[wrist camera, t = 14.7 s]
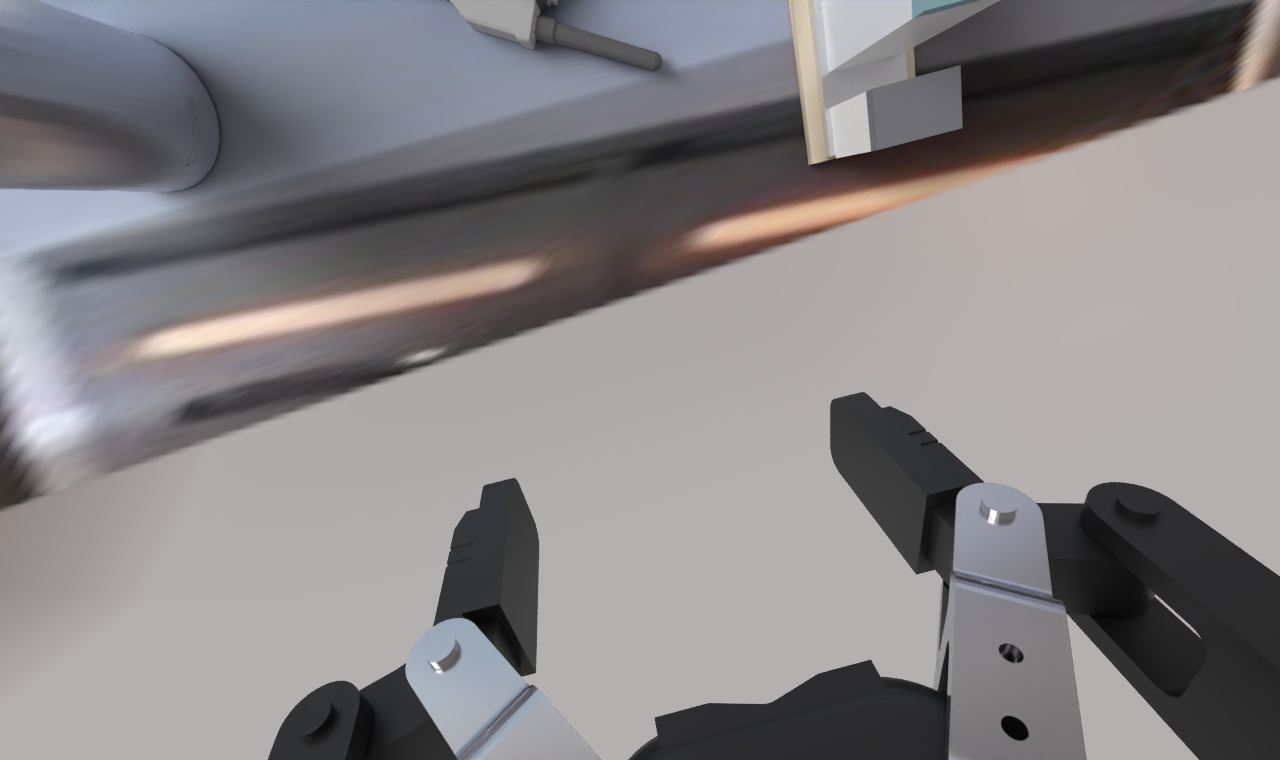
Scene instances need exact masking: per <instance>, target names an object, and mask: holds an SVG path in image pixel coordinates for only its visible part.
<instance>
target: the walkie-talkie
mask: <svg viewBox="0 0 1280 760" xmlns="http://www.w3.org/2000/svg"><path fill="white" fill-rule="evenodd" d="M450 1H451V2H452V3H453V5H454V6H455V7H456V9H457V10H458V11H459V12H460V14H461V15H462V16H463V18H464V19H465V20H466V21H467V22H468V23H469V24H470V26H471V27H472V28H473V29H474V30H478V31H481V32H484V33H488V34H491V35H494V36H498V37H501V38H504V39H508V40H511V41H515V42H518V43H521V45H522V46H523V47H526V48H529V49H533V50H534V49H535V44H536V39H537V40H540V41H543V42H546V43H549V44H555V43H558V44H562V45H565V46H569V47H572V48H576V49H579V50H582V51H586V52H589V53H593V54H596V55H599V56H603V57H606V58H610V59H613V60H616V61H620V62H623V63H627V64H630V65H634V66H637V67H640V68H644V69H647V70H651V71H656V70H658V69H659V68H660V67H661V64H662V59H661V56H660V55H659V54H658V53H657V52H653V51H650V50H647V49H643V48H640V47H637V46H633V45H630V44H627V43H623V42H620V41H616V40H613V39H610V38H606V37H603V36H600V35H596V34H593V33H589V32H586V31H583V30H579V29H576V28H573V27H569V26H566V25H563V24H559V23H558V22H557V20H556V19H553V18H550V17H546V16H543V15H541V11H542V10H544V9H546V8H548V6H550V5H551V4H553V5H556V6H557V4H558V0H450Z"/></svg>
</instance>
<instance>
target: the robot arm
mask: <svg viewBox="0 0 1280 760" xmlns="http://www.w3.org/2000/svg"><path fill="white" fill-rule="evenodd" d="M219 140H220V135H219V123H218V119H217V115H216V111H215V108H214V105H213V102H212V100H211V98H210V96H209V94H208V92H207V90H206V88H205V86H204V85H203V84H202V82H201V81H200V79H199V78H198V76H197V75H196V73H195V72H194V71H193V70H192V69H191V68H190V67H189V66H188V65H187V64H186V63H185V62H184V61H183V60H182V59H181V58H180V57H179V56H177V55H176V54H175V53H173V52H172V51H171V50H170V49H168V48H167V47H165V46H163V45H161V44H159V43H157V42H155V41H153V40H152V39H149V38H146V37H143V36H140V35H137V34H134V33H131V32H128V31H125V30H122V29H119V28H116V27H113V26H110V25H107V24H104V23H101V22H98V21H95V20H92V19H89V18H87V17H84V16H81V15H78V14H75V13H72V12H69V11H66V10H63V9H60V8H57V7H54V6H51V5H48V4H45V3H42V2H39V1H36V0H0V189H29V190H91V191H137V192H172V191H179V190H184V189H186V188H189V187H191V186H193V185H195V184H197V183H198V182H199V181H200V180H202V179H203V178H204V177H205V176H206V175H207V173H208V172H209V171H210V169H211V168H212V167H213V164H214V162H215V159H216V157H217V154H218V148H219ZM830 407H831V408H830V416H831V417H830V447H831V448H830V449H831V454H832V458H833V461H834V464H835V466H836V468H837V470H838V471H839V473H840V474H841V475H842V476H843V478H844V479H845V481H846V482H847V483H848V485H849V486H850V487H851V488H852V490H853V491H854V492H855V494H856V495H857V496H858V498H859V499H860V500H861V502H862V503H863V504H864V506H865V507H866V508H867V510H868V511H869V512H870V514H871V515H872V516H873V518H874V519H875V520H876V521H877V523H878V524H879V525H880V527H881V528H882V530H883V531H884V532H885V534H886V535H887V536H888V537H889V539H890V540H891V541H892V543H893V544H894V545H895V547H896V548H897V549H898V551H899V552H900V553H901V555H902V556H903V557H904V559H905V560H906V561H907V563H908V564H909V565H910V567H911V568H912V569H913V570H914V572H915V573H916V574H920V573H924V572H928V571H932V570H936V571H937V572H938V574H939V575H940V576H941V577H942V579H943V580H942V585H941V597H940V612H939V627H938V642H937V658H936V669H935V677H934V685H933V689H932V688H929V687H926V686H924V685H921V684H918V683H914V682H911V681H907V680H903V679H897V678H889V677H880V675H879V673H878V672H877V670H876V668H875V666H874V665H873V663H872V661H871V660H868V661H864V662H860V663H857V664H853V665H849V666H846V667H842V668H838V669H834V670H830V671H827V672H823V673H820V674H817V675H815V676H814V677H812V678H811V679H809V680H808V681H806V682H804V683H803V684H801V685H799V686H798V687H796V688H794V689H793V690H791V691H790V692H788V693H786V694H785V695H783V696H782V697H780V698H778V699H777V700H775V701H773V702H771V703H768V704H723V703H708V704H704V705H700V706H696V707H693V708H689V709H685V710H681V711H678V712H674V713H670V714H667V715H663V716H659V717H655V722H656V728H657V734H658V736H656V737H655V738H653V739H652V740H650V741H648V742H647V743H646V744H645V745H643V746H642V747H641V748H640V749H638V750H637V751H636V752H635V753H634V754H633V755H632V757H630V758H629V759H628V760H1087V759H1086V752H1085V745H1084V738H1083V730H1082V724H1081V716H1080V709H1079V702H1078V695H1077V687H1076V680H1075V674H1074V666H1073V659H1072V651H1071V645H1070V637H1069V630H1068V623H1067V616H1066V614H1068V615H1069V616H1070V617H1071V619H1072V620H1073V621H1074V622H1075V623H1076V624H1077V625H1078V626H1079V627H1080V629H1081V630H1082V631H1083V632H1084V633H1085V634H1086V635H1087V636H1088V637H1089V638H1090V640H1091V641H1092V642H1093V643H1094V644H1095V645H1096V646H1097V647H1098V648H1099V650H1101V652H1102V653H1103V654H1104V655H1105V656H1106V657H1107V658H1108V659H1109V661H1110V662H1111V663H1112V664H1113V665H1114V666H1115V667H1116V668H1117V669H1118V671H1119V672H1120V673H1121V674H1122V675H1123V676H1124V677H1125V678H1126V679H1127V680H1128V681H1129V683H1130V684H1131V685H1132V686H1133V687H1134V688H1135V689H1136V690H1137V692H1138V693H1139V694H1140V695H1141V696H1142V697H1143V698H1144V699H1145V700H1146V701H1147V703H1148V704H1149V705H1150V706H1151V707H1152V708H1153V709H1154V710H1155V711H1156V712H1157V714H1158V715H1159V716H1160V717H1161V718H1162V719H1163V720H1164V721H1165V722H1166V724H1167V725H1168V726H1169V727H1170V728H1171V729H1172V730H1173V731H1174V732H1175V733H1176V735H1177V736H1178V737H1179V738H1180V739H1181V740H1182V741H1183V742H1184V743H1185V745H1186V746H1187V747H1188V748H1189V749H1190V750H1191V751H1192V752H1193V753H1194V755H1195V756H1196V757H1197V758H1198V759H1199V760H1280V576H1278V575H1277V574H1276V573H1274V572H1273V571H1271V570H1270V569H1269V568H1267V567H1266V566H1264V565H1263V564H1262V563H1260V562H1259V561H1257V560H1256V559H1255V558H1253V557H1252V556H1250V555H1249V554H1248V553H1246V552H1245V551H1243V550H1242V549H1241V548H1239V547H1238V546H1236V545H1235V544H1234V543H1232V542H1231V541H1229V540H1228V539H1226V538H1225V537H1224V536H1222V535H1221V534H1220V533H1218V532H1217V531H1215V530H1214V529H1212V528H1211V527H1210V526H1208V525H1207V524H1205V523H1204V522H1203V521H1201V520H1200V519H1198V518H1197V517H1196V516H1194V515H1193V514H1191V513H1190V512H1189V511H1187V510H1186V509H1184V508H1183V507H1182V506H1180V505H1179V504H1177V503H1176V502H1175V501H1173V500H1171V499H1170V498H1168V497H1167V496H1165V495H1163V494H1161V493H1159V492H1156V491H1154V490H1152V489H1149V488H1146V487H1143V486H1139V485H1135V484H1129V483H1120V482H1119V483H1118V482H1109V483H1103V484H1100V485H1097V486H1095V487H1093V488H1092V489H1091V490H1090V491H1089V492H1088V494H1087V497H1086V500H1085V503H1084V504H1071V503H1070V504H1068V503H1065V504H1063V503H1056V504H1055V503H1035V502H1034V501H1033V500H1032V499H1031V498H1030V497H1028V496H1027V495H1026V494H1024V493H1022V492H1020V491H1018V490H1016V489H1014V488H1011V487H1008V486H1005V485H1001V484H995V483H985V482H983V481H982V480H981V479H980V478H979V477H978V476H977V475H976V474H975V473H974V472H972V471H971V470H970V469H969V468H968V467H967V466H966V465H965V464H964V463H962V462H961V461H960V460H959V459H958V458H957V457H956V456H955V455H954V454H953V453H951V452H950V451H949V450H948V449H947V448H946V447H945V446H944V445H943V444H942V443H938V440H937V439H936V438H935V437H934V436H933V435H932V434H930V433H929V432H926V430H925V428H924V427H923V426H921V425H920V424H919V423H918V422H917V421H916V420H915V419H914V418H913V417H912V416H910V415H908V414H906V413H904V412H901V411H899V410H897V409H895V408H893V407H891V406H889V407H886V408H881V407H880V406H879V405H878V404H877V403H876V402H875V401H874V400H873V399H872V398H870V396H869V395H867V394H866V393H864V392H860V393H857V394H852V395H848V396H844V397H841V398H837V399H833V400H832V402H831V406H830ZM447 564H448V567H446V570H445V575H444V580H443V584H442V589H441V593H440V598H439V602H438V607H437V612H436V616H435V621H434V625H433V627H432V628H431V629H430V630H428V631H427V632H426V633H425V634H424V635H422V636H421V638H420V639H419V640H418V641H417V642H416V644H415V645H414V646H413V648H412V650H411V652H410V654H409V656H408V659H407V662H406V663H405V664H404V665H403V666H401V667H400V668H398V669H397V670H395V671H393V672H391V673H390V674H388V675H386V676H384V677H383V678H381V679H379V680H377V681H376V682H374V683H372V684H370V685H368V686H367V687H365V688H363V689H361V690H360V691H359V690H358V689H357V688H356V687H355V686H354V685H353V684H352V683H349V682H347V681H335V682H331V683H328V684H326V685H324V686H321V687H320V688H318V689H316V690H315V691H313V692H311V693H310V694H309V695H307V696H306V697H305V698H304V699H302V700H301V701H300V702H299V703H298V704H297V705H296V706H295V708H294V709H293V710H292V711H291V712H290V713H289V715H288V716H287V717H286V719H285V720H284V722H283V724H282V726H281V727H280V730H279V732H278V734H277V736H276V739H275V742H274V744H273V747H272V750H271V752H270V755H269V758H268V760H601V759H600V758H599V756H598V755H597V754H596V753H595V752H594V751H593V750H592V749H591V747H590V746H589V745H588V744H587V743H586V742H585V741H584V740H583V738H582V737H581V736H580V735H579V734H578V733H577V732H576V731H575V730H574V729H573V727H572V726H571V725H570V724H569V723H568V722H567V721H566V719H565V718H564V717H563V716H562V715H561V714H560V713H559V712H558V710H557V709H556V708H555V707H554V706H553V705H552V704H551V703H550V701H549V700H548V699H547V698H546V697H545V696H544V695H543V694H542V693H541V692H540V691H539V690H538V689H537V688H536V687H535V686H534V685H531V686H529V685H528V684H527V683H526V682H525V681H524V680H523V678H522V676H526V675H530V674H534V673H536V650H537V609H538V572H539V539H538V533H537V528H536V524H535V521H534V519H533V516H532V514H531V512H530V509H529V507H528V505H527V502H526V500H525V497H524V495H523V493H522V490H521V488H520V485H519V483H518V481H517V480H516V479H515V478H512V479H508V480H504V481H500V482H496V483H492V484H488V485H485V486H484V487H483V490H482V495H481V501H480V507H479V508H478V509H475V510H470V511H467V512H466V513H465V514H464V516H463V518H462V519H461V520H460V522H459V524H458V525H457V527H456V528H455V530H454V534H453V538H452V543H451V551H450V552H449V557H448V561H447ZM1155 594H1156V595H1157V596H1158V597H1159V598H1161V599H1162V600H1163V601H1164V602H1165V603H1166V604H1167V605H1168V606H1169V607H1171V608H1172V609H1173V610H1174V611H1175V612H1176V613H1177V614H1178V615H1180V616H1181V617H1182V618H1183V619H1184V620H1185V621H1186V622H1187V623H1188V624H1190V625H1191V626H1192V627H1193V628H1194V629H1195V630H1196V632H1197V633H1198V634H1199V636H1200V637H1201V638H1199V637H1198V636H1197V635H1196V634H1195V633H1194V632H1193V631H1192V630H1191V629H1189V628H1188V627H1187V626H1186V625H1185V624H1184V623H1183V622H1182V621H1181V620H1180V619H1178V618H1177V617H1176V616H1175V615H1174V614H1173V613H1172V612H1171V611H1169V609H1167V608H1166V607H1165V606H1164V605H1163V604H1162V603H1161V602H1160V601H1159V600H1158V599H1156V598H1155V597H1154V596H1155Z"/></svg>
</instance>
